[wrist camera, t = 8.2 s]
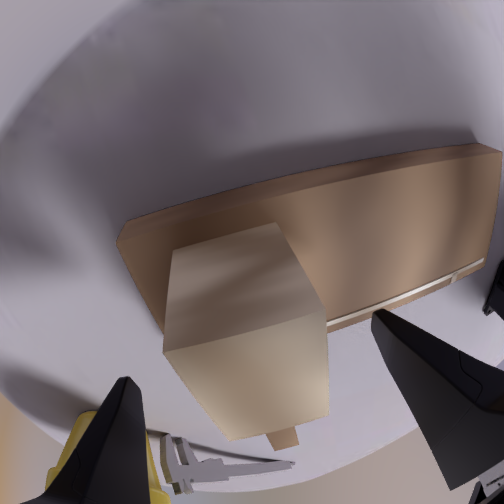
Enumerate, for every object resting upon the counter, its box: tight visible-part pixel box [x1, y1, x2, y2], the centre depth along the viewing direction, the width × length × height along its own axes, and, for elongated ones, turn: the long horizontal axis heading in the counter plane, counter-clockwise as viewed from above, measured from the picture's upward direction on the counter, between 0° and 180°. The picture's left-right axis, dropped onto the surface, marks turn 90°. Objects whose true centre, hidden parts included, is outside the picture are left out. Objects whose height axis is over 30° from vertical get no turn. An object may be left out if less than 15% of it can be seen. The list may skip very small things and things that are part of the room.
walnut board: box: [116, 143, 502, 334], centre depth 13 cm, size 20×8×2 cm, turn 102°
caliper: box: [160, 434, 295, 495], centre depth 24 cm, size 20×1×6 cm, turn 42°
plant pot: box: [45, 411, 171, 504], centre depth 16 cm, size 10×10×10 cm
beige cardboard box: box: [163, 222, 329, 451], centre depth 11 cm, size 4×9×5 cm, turn 12°
